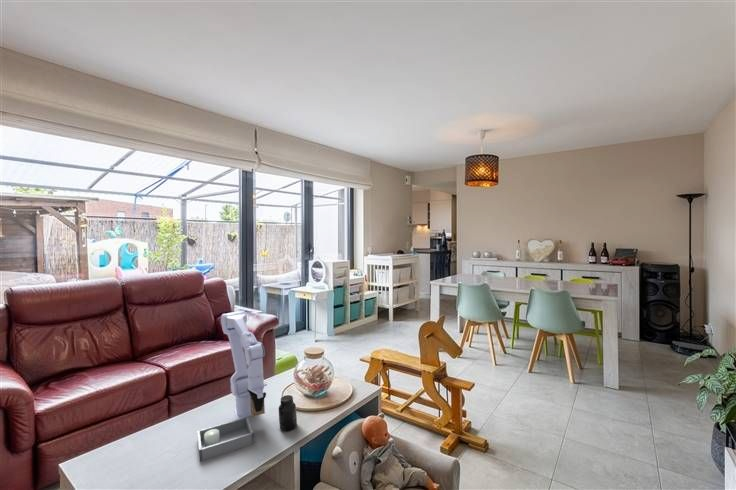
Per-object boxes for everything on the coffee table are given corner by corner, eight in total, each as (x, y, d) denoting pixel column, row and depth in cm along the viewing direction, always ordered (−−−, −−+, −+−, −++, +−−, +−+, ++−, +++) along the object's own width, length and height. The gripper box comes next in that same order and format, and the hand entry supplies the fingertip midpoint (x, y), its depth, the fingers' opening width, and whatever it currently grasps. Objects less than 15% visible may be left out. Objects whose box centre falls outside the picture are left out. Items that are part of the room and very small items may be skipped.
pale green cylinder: (204, 444, 125) (203, 431, 125) (219, 440, 128) (218, 427, 128) (205, 452, 121) (204, 439, 121) (220, 447, 124) (219, 434, 123)
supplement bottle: (291, 420, 141) (289, 391, 140) (300, 426, 136) (299, 397, 135) (276, 427, 136) (274, 398, 136) (285, 434, 131) (283, 404, 131)
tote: (197, 442, 128) (197, 430, 128) (247, 427, 137) (247, 416, 137) (199, 463, 117) (199, 450, 116) (254, 445, 125) (253, 433, 125)
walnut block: (250, 411, 136) (249, 396, 136) (262, 408, 138) (261, 393, 138) (253, 416, 132) (252, 401, 132) (264, 413, 135) (264, 398, 134)
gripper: (270, 379, 130) (272, 413, 131) (261, 366, 143) (263, 397, 144) (251, 383, 127) (253, 419, 127) (244, 370, 139) (245, 402, 140)
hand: (257, 408), depth 135 cm, fingers closed on walnut block, 4 cm apart
